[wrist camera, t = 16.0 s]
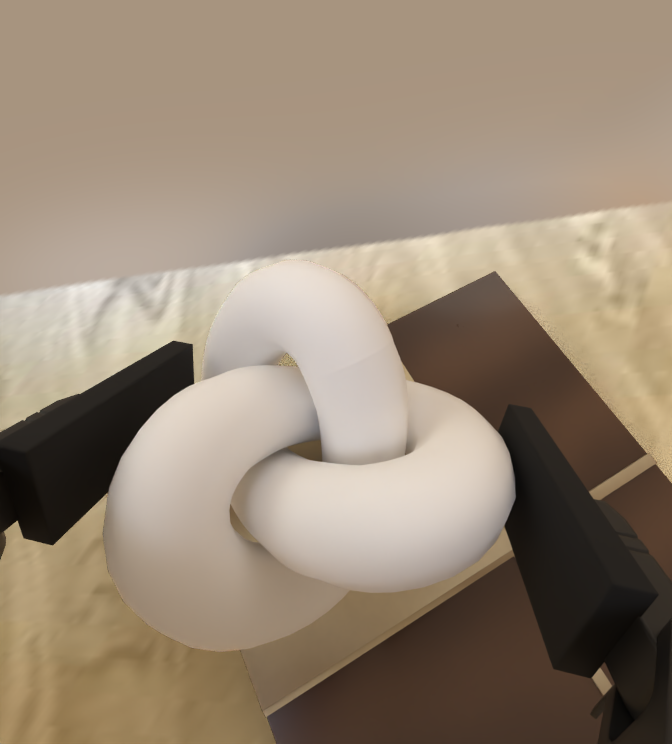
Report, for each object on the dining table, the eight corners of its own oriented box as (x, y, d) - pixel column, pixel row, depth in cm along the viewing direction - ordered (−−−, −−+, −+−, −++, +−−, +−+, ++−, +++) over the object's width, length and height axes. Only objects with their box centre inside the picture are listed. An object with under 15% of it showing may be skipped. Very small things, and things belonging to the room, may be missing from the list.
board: (176, 440, 19) (161, 434, 17) (485, 285, 22) (496, 268, 20) (426, 1104, 11) (439, 1201, 10) (843, 729, 14) (906, 758, 13)
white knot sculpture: (372, 690, 14) (419, 977, 5) (130, 528, 16) (-106, 552, 8) (477, 432, 17) (607, 361, 9) (266, 327, 19) (208, 190, 11)
